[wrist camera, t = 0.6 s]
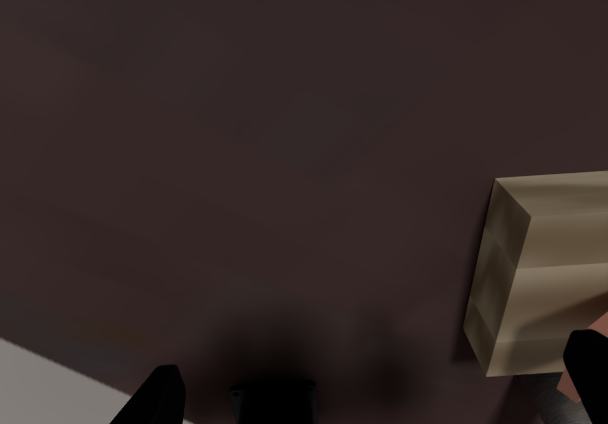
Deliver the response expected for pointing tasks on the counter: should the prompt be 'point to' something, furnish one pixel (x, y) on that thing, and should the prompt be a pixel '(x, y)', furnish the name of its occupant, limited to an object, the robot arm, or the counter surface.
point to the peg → (553, 399)
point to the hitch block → (538, 271)
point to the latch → (602, 325)
